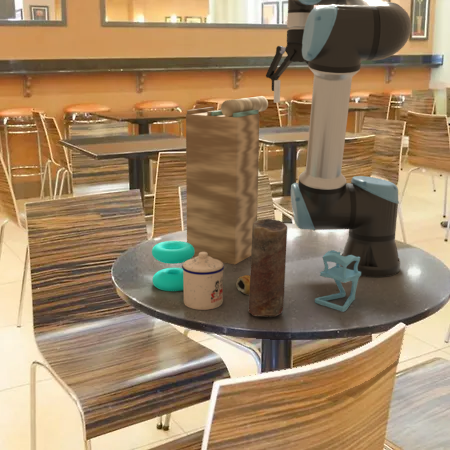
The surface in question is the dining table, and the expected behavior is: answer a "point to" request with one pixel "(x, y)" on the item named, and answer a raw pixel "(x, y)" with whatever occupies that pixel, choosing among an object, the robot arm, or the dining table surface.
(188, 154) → the tall wooden crate
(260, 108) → the cream rounded cylinder
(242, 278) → the pastry
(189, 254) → the donuts
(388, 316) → the dining table surface
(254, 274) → the brown upright cylinder
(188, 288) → the teacup with lid
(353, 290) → the chair
